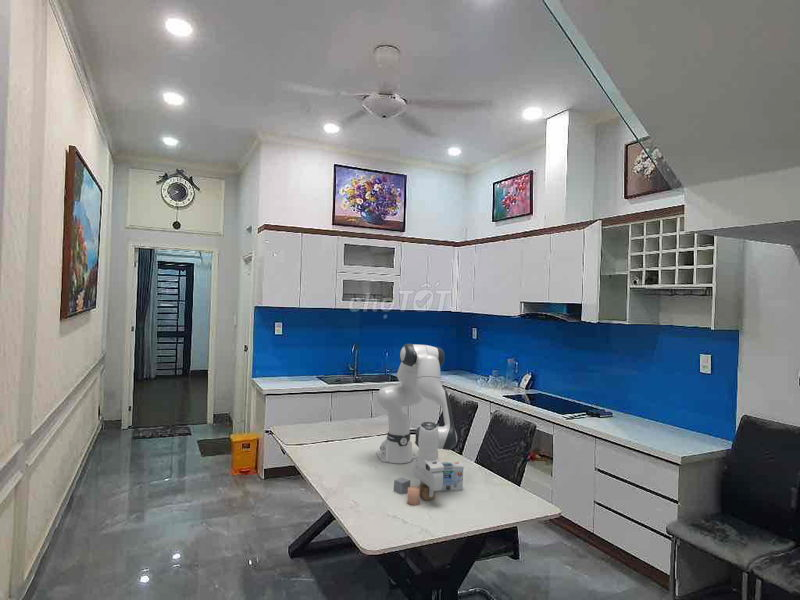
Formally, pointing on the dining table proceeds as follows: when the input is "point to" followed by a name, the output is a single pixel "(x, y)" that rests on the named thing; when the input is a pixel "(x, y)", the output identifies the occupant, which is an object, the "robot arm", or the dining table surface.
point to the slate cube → (401, 485)
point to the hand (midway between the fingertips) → (426, 493)
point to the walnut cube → (425, 492)
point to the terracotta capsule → (413, 495)
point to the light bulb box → (452, 476)
